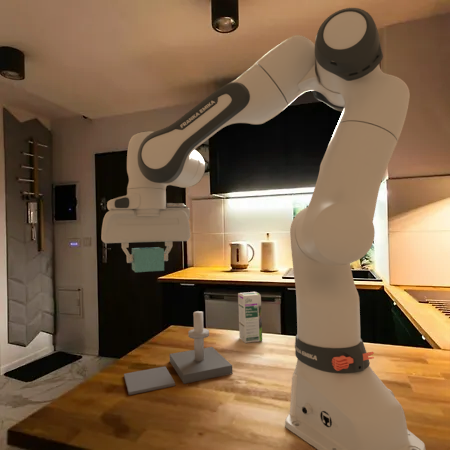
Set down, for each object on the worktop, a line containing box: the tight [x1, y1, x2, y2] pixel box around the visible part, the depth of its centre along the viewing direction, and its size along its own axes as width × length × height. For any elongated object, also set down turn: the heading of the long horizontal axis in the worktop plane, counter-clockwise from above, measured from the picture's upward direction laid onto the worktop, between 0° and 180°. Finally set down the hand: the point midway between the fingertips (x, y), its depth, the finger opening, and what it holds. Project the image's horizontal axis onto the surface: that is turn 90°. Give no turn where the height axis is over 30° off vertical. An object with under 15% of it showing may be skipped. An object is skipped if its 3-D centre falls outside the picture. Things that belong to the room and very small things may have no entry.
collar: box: [131, 246, 165, 273], centre depth 77 cm, size 6×6×5 cm
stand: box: [169, 310, 233, 385], centre depth 83 cm, size 14×12×14 cm
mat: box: [123, 365, 176, 396], centre depth 77 cm, size 10×10×1 cm
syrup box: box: [237, 291, 263, 344], centre depth 103 cm, size 6×6×14 cm
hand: (147, 261), depth 77 cm, fingers closed on collar, 6 cm apart
